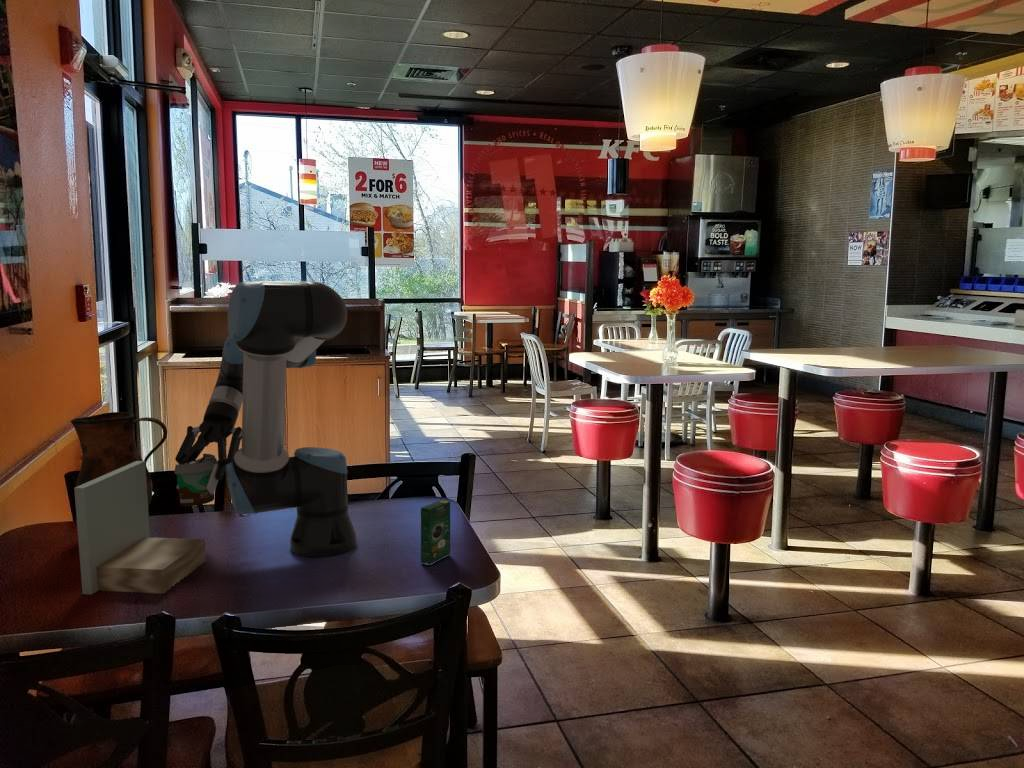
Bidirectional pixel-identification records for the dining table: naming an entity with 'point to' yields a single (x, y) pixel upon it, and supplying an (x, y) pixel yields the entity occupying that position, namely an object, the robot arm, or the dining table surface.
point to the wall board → (110, 518)
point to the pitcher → (110, 445)
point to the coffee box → (435, 531)
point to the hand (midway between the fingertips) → (195, 490)
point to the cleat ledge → (151, 565)
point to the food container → (195, 481)
